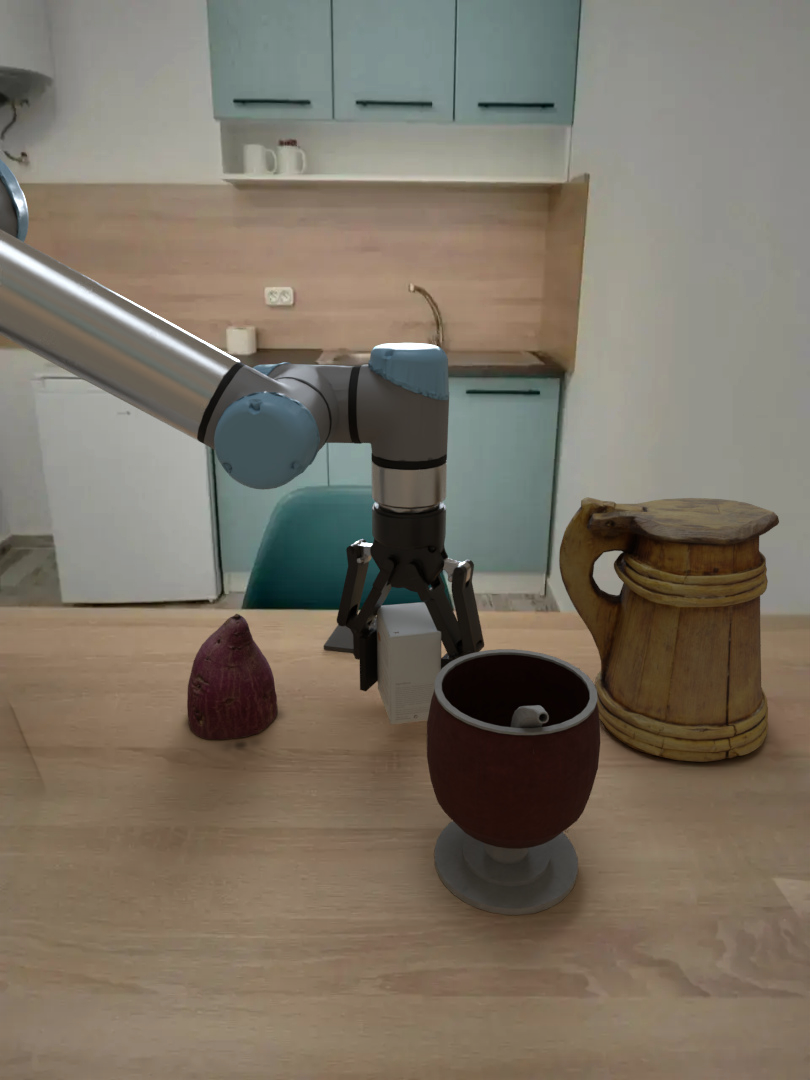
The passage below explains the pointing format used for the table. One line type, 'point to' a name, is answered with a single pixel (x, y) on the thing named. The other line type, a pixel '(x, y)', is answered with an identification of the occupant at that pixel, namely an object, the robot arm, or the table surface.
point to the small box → (407, 660)
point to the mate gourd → (511, 775)
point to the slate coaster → (343, 638)
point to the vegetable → (230, 685)
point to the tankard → (675, 622)
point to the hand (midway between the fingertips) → (407, 696)
